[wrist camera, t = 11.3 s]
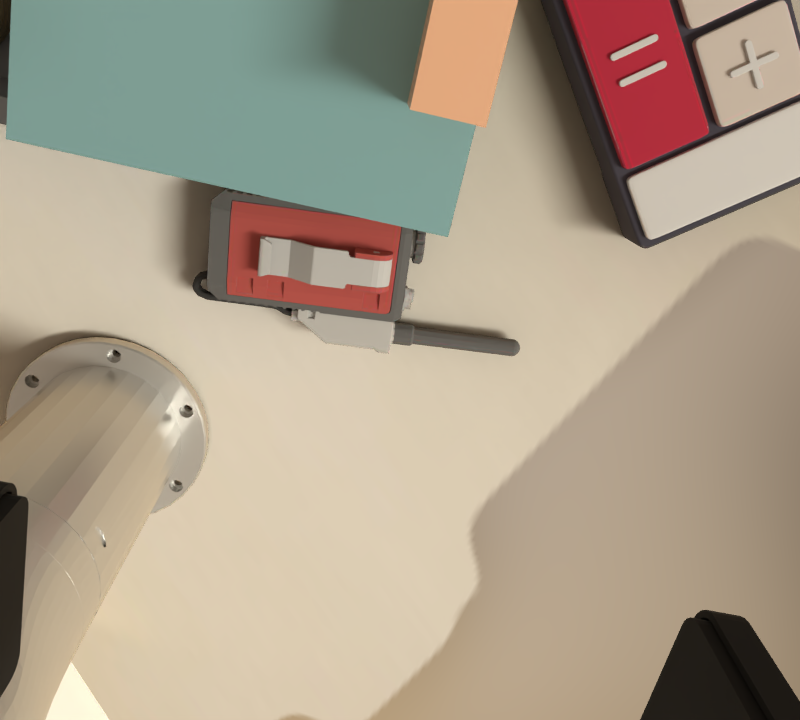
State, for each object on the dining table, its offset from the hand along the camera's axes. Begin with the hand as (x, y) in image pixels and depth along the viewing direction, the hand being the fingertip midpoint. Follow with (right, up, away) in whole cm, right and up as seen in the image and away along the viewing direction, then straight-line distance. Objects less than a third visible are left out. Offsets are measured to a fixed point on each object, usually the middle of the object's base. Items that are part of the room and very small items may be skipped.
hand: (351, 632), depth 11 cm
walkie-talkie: (-1, +9, +36) cm, 37 cm away
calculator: (+16, +20, +32) cm, 41 cm away
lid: (-5, +20, +22) cm, 30 cm away
